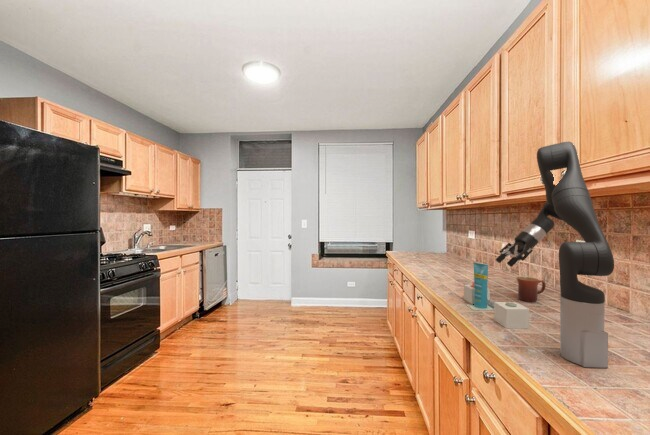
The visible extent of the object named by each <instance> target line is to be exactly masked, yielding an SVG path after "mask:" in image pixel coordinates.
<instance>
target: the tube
mask: <svg viewBox="0 0 650 435" xmlns="http://www.w3.org/2000/svg"><path fill="white" fill-rule="evenodd" d="M488 275H489V264H487V263H486V264H485V263H484V264H483V263H478V262H473V279H474V280H473V282H474V306H475V307H477V308H481V309H486V308H487V288H488V282H489V281H488V277H489V276H488Z"/></svg>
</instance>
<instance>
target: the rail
mask: <svg viewBox="0 0 650 435" xmlns="http://www.w3.org/2000/svg"><path fill="white" fill-rule="evenodd" d="M494 302H497V301H496V300H495V299H492V298H490V299H487V305H488V306H490V307H491V308H493V309H494Z"/></svg>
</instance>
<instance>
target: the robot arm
mask: <svg viewBox="0 0 650 435" xmlns="http://www.w3.org/2000/svg"><path fill="white" fill-rule="evenodd" d="M573 144H574V143H573V142H572V141H562V142H559V143H554V144H550V145H546V146H541V147H539V148H537V151H536V162H537V166H538V169H539V173H540V177H541V180H542V182H543V187H544V189H545V198H546V202H544V204H543V205H542V208H541V210H540V212H539V213H538V215H537V216H536V217H535V219H534V220H532V222H531V223H530V224H528V225H526V227H524V229H523V230H521V231H520V232H519V233H518V234H517V235H516V237H514V243H510V242H508V243H507V244H506V245H504V246H503V247H502V249H500V250H499V255H498V256H497V258H495V261H496V262H497V263H499V264H500V263H502V262H503V261H504V260H505V259H506V257H509V256H510V257H511V256H512V257H511V258H510V259H509V260H508V261H507V262H506V264H507V266H508V267H513V266H514V265H515V264H516V263H517V262H519V261H525V260H526V259H527V258H528V257H529V255H530V254H532V252H533V251H534V250H533V249H534V248H535V247H536V246H537V245H538V244H539V242H541V241H542V240H543V239H544V237H545V236H546V235H548V233H549V232H550V231H551V230H552V229H553V228H554V227H555V222H554V221H553V220H552V219H551V218H550V217H552V218H554V219H557V220H558V221H559V220H560V221H563V222H565V223H566V224H567V225H568V226H570V227H571V228H573V230H575V232H577V233H578V234H579V235H580V236H581V237H582V238H583V241H584V242H583V241H564V242H562V243H561V245H560V246H559V249H558V266H559V285H560V286H559V287H560V300H559V301H560V305H559V306H560V314H559V316H560V317H559V318H560V319H559V320H560V323H559V327H560V328H559V329H560V330H559V332H560V333H559V336H560V337H559V338H560V339H559V340H560V342H559V343H560V346H559V347H560V350H559V351H560V356H561V357H562V358H563V359H565V360H567V361H569V362H571V363H573V364H577V365H579V366H582V367H583V368H597V369H598V368H602V369H603V368H608V367H609V333H608V332H607V331H606V330H605V313H606V312H605V311H606V310H605V306H606V304H605V303H606V301H605V300H606V296H605V292H604V291H603V290H602V289H599V288H596V287H594V286H591V285H588V284H585V283H584V282H581V281H580V280H579V279H578V275H580V276H591V277H594V276H595V277H607V276H611V275H612V273H613V272H614V270H615V259H614V254H613V252H612V250H611V247H610V245H609V242H608V240H607V239H606V236H605V233H604V231H603V230H602V227H601V226H600V223H599V221H598V218H597V215H596V211H595V208H594V204H593V201H592V197H591V194H590V192H589V190H588V186H587V185H586V181H585V179H584V176H583V173H582V169H581V165H580V160H579V155H577V154H578V152H577V148H576V146H575V144H574V145H573ZM561 169H566V170H565V172H564V175H563V176H562V177H561V178H560V179H561V180H560V181H559V183H558V184H557V185H556V186H555V185H553V181H554V177H553V174H554V173H553V172H552V171H557V170H561ZM552 173H553V174H552Z"/></svg>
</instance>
